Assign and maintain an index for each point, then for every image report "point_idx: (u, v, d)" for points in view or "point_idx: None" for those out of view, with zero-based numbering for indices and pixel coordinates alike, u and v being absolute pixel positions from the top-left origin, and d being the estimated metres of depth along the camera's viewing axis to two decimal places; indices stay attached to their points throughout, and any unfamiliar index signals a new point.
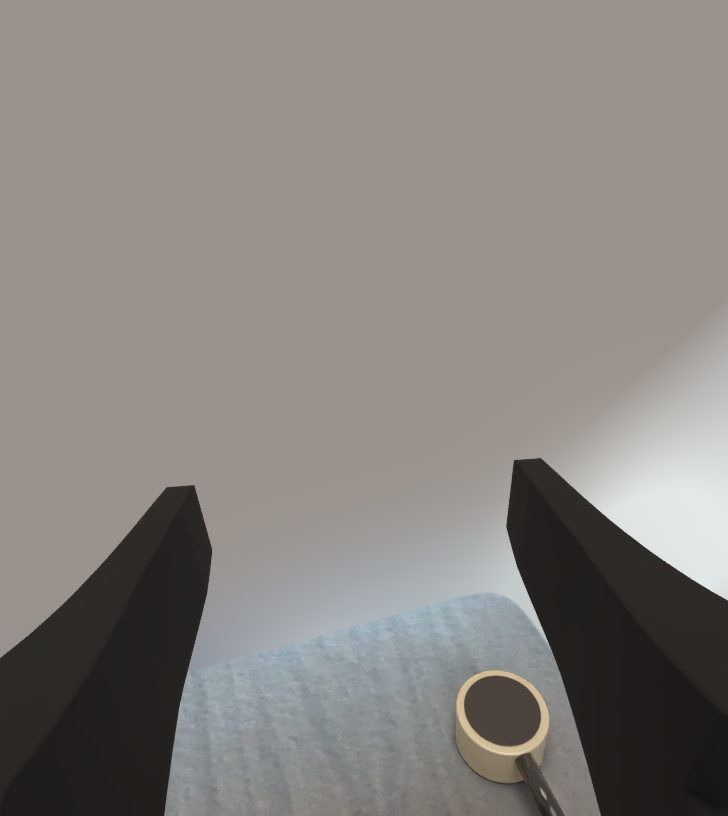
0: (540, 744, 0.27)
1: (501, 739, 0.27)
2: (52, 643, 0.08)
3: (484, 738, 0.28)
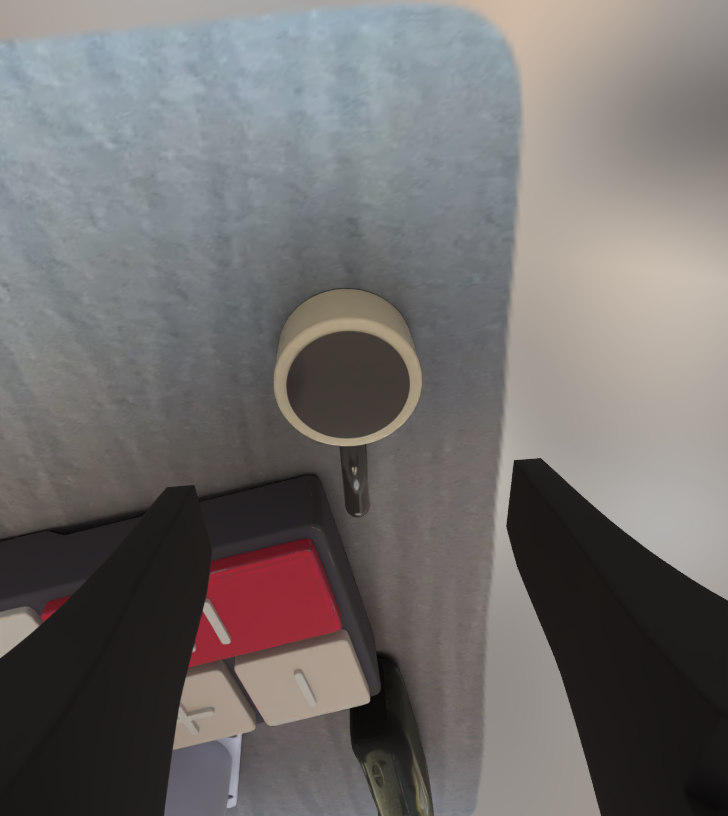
0: None
1: (327, 426, 0.18)
2: (51, 643, 0.08)
3: (303, 422, 0.18)
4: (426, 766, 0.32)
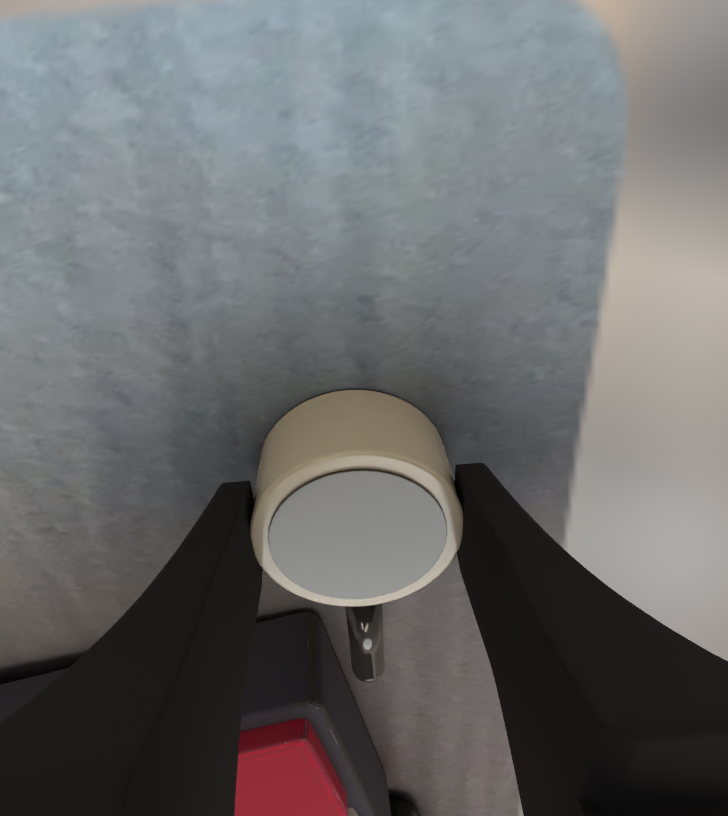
0: None
1: (328, 585, 0.13)
2: (135, 636, 0.08)
3: (294, 581, 0.13)
4: None
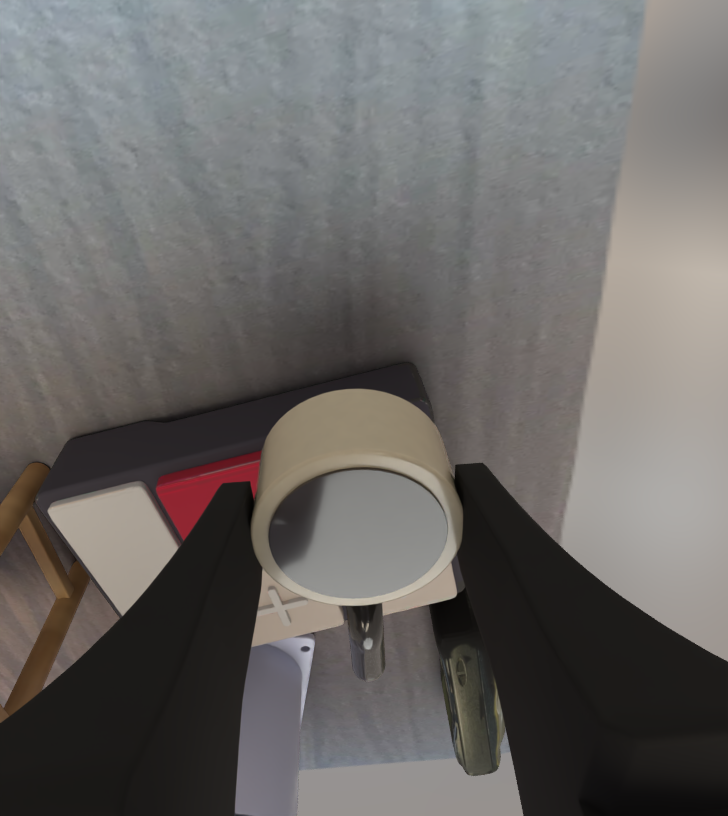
0: None
1: (328, 584, 0.13)
2: (136, 636, 0.08)
3: (294, 580, 0.13)
4: None
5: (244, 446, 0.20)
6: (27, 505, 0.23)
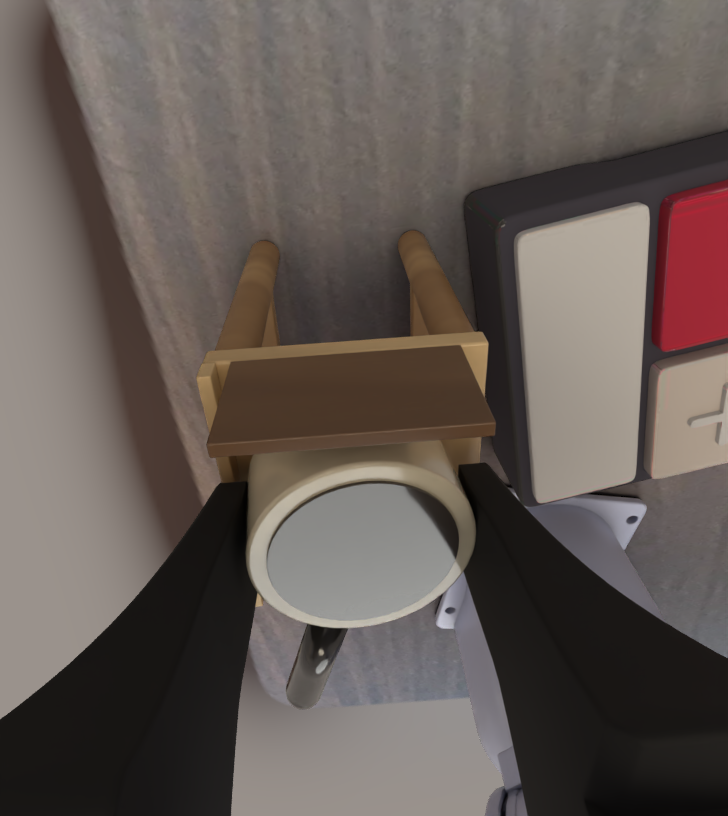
0: None
1: (310, 600, 0.12)
2: (132, 637, 0.08)
3: (277, 591, 0.11)
4: None
5: None
6: None
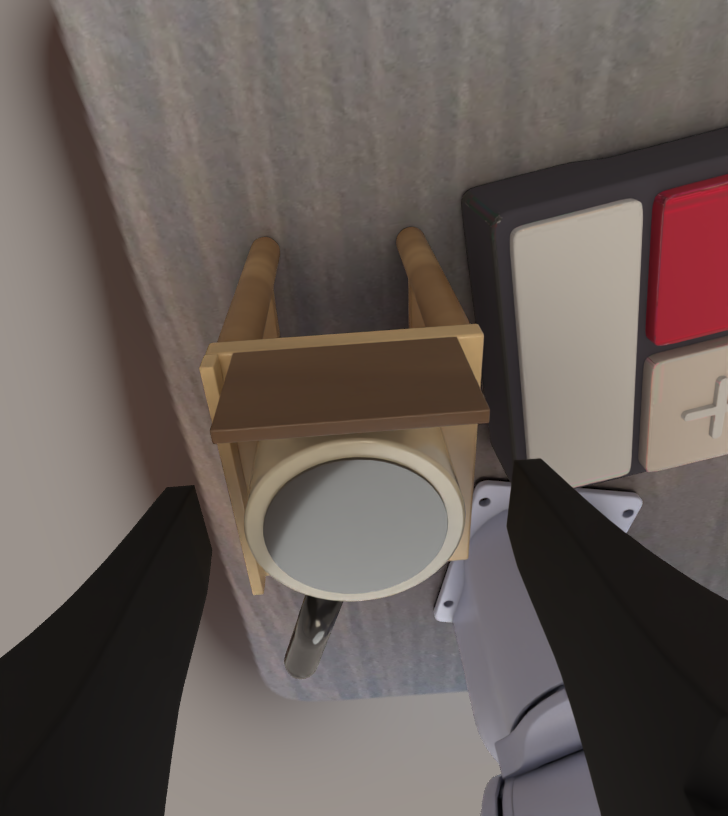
0: None
1: (305, 570, 0.12)
2: (51, 643, 0.08)
3: (273, 558, 0.12)
4: None
5: None
6: None
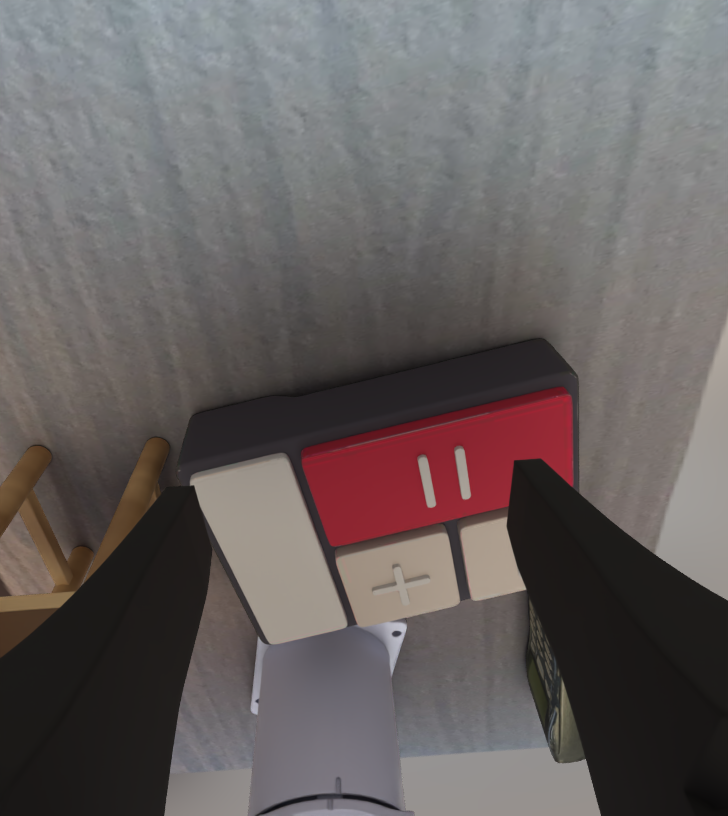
0: None
1: None
2: (51, 644, 0.08)
3: None
4: None
5: (391, 418, 0.20)
6: (156, 479, 0.22)
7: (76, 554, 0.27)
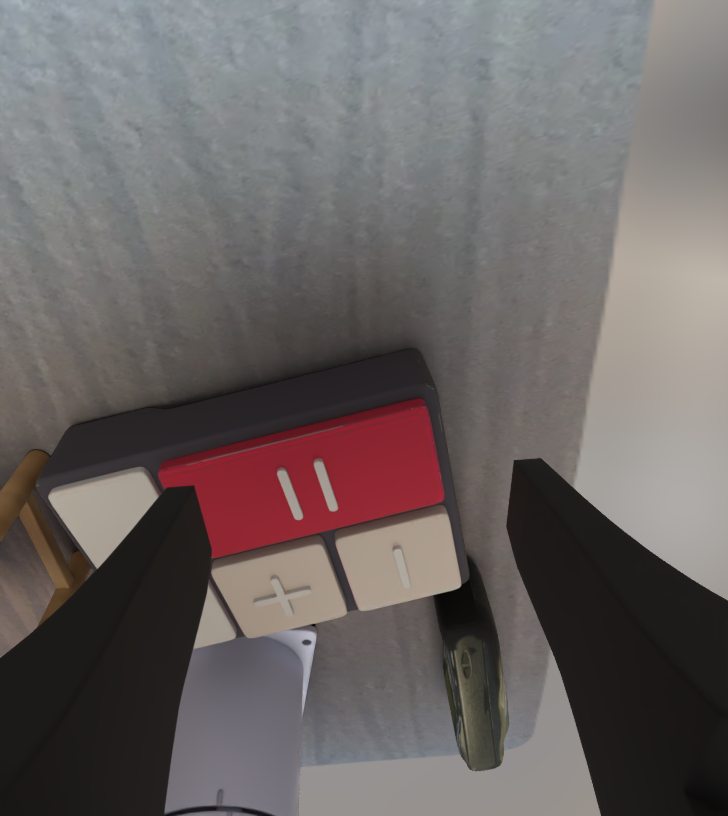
0: None
1: None
2: (52, 643, 0.08)
3: None
4: None
5: (248, 431, 0.20)
6: (28, 492, 0.22)
7: None
